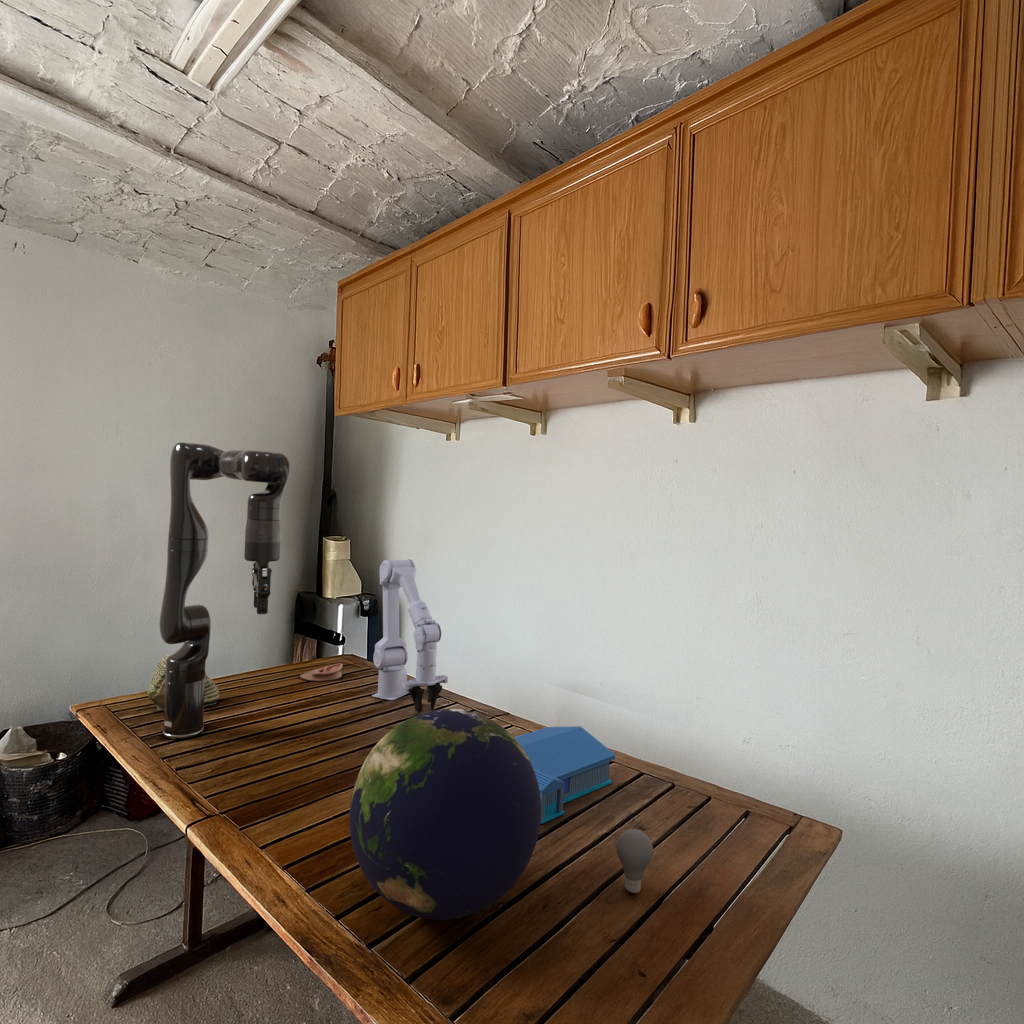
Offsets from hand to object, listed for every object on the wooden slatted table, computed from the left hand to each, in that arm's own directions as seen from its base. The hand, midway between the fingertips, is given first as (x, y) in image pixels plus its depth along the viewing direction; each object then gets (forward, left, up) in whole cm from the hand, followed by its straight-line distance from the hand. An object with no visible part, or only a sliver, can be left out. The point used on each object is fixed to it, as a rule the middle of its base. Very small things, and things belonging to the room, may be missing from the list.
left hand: (260, 610), depth 144 cm
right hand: (-8, +53, -35) cm, 64 cm away
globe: (+65, +4, -37) cm, 75 cm away
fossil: (-55, +1, -37) cm, 66 cm away
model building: (+46, +41, -37) cm, 72 cm away
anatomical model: (-60, +46, -37) cm, 84 cm away
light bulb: (+83, +31, -37) cm, 96 cm away
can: (-8, +53, -37) cm, 65 cm away
